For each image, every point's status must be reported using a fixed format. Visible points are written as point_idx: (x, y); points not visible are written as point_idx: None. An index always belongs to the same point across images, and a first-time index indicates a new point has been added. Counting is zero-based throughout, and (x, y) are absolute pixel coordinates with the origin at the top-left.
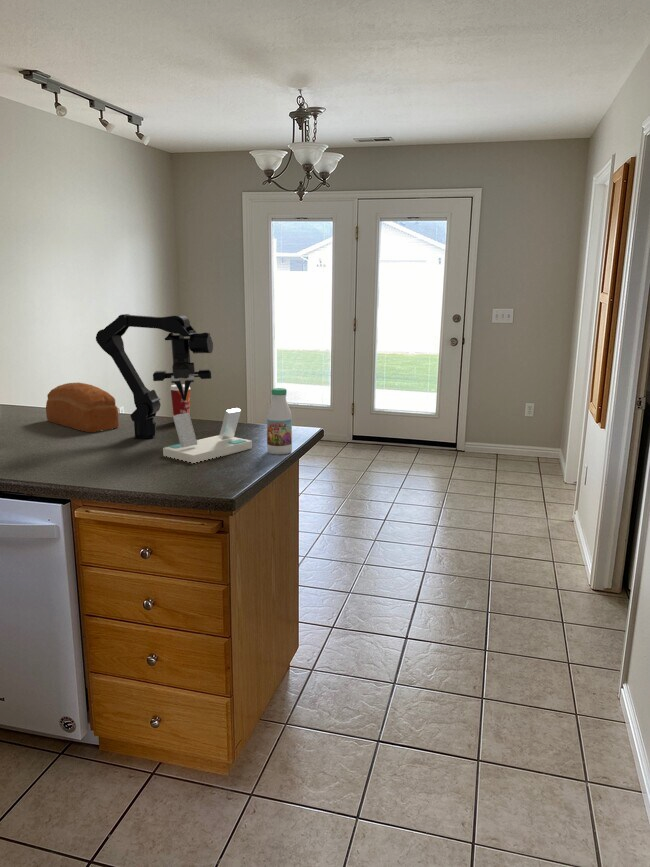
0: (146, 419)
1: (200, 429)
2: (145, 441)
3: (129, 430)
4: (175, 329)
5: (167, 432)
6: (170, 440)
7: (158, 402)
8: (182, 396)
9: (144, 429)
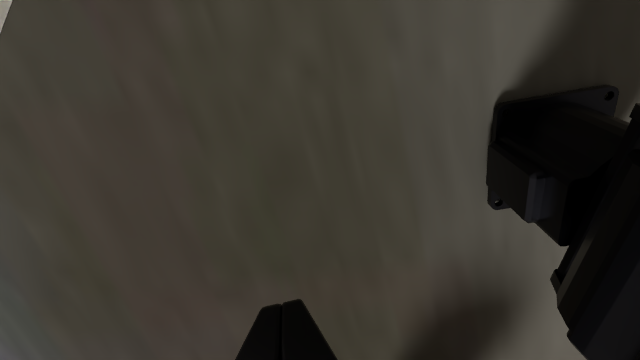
0: (631, 135)
1: None
2: (537, 23)
3: None
4: None
5: (428, 254)
6: (376, 66)
7: (617, 344)
8: (310, 350)
9: (584, 120)
